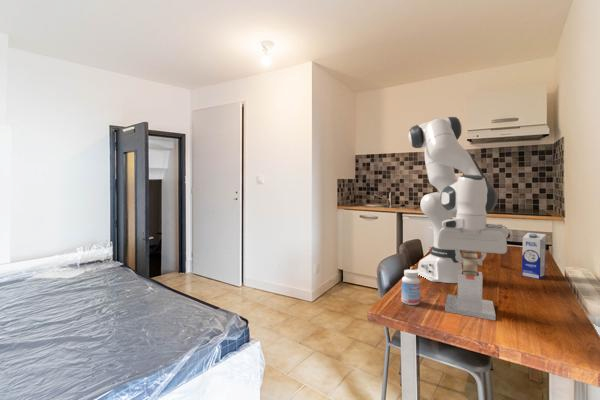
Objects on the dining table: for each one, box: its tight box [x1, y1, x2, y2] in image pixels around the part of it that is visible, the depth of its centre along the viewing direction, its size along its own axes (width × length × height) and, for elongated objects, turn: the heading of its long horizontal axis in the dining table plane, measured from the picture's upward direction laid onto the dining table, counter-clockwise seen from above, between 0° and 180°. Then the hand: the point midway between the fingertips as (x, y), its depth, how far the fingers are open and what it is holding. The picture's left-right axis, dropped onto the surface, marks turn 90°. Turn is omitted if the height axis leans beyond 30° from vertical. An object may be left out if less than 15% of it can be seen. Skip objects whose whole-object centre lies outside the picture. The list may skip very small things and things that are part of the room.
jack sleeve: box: [444, 269, 496, 321], centre depth 101 cm, size 14×14×12 cm
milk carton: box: [521, 232, 547, 280], centre depth 139 cm, size 7×7×20 cm
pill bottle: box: [400, 269, 421, 306], centre depth 107 cm, size 6×6×11 cm
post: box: [462, 250, 479, 276], centre depth 101 cm, size 4×4×17 cm
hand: (470, 264), depth 101 cm, fingers closed on post, 4 cm apart
